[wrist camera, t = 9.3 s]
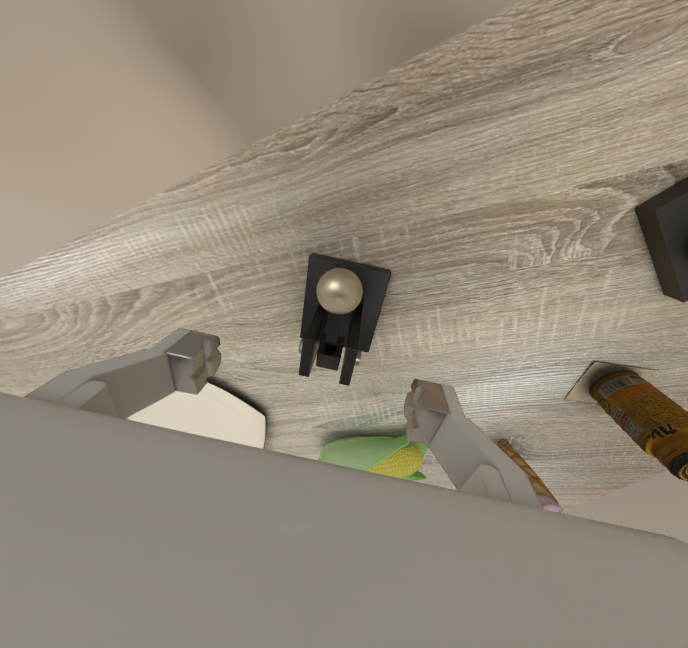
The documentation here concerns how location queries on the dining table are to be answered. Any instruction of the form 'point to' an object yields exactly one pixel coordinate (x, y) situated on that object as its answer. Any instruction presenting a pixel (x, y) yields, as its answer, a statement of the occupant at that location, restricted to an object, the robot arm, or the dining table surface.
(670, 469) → the condiment
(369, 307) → the ball handle lever stand
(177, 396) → the plate
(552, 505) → the ice cream cone
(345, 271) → the switch lever
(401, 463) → the corn
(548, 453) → the dining table surface
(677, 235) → the dark grey button base
